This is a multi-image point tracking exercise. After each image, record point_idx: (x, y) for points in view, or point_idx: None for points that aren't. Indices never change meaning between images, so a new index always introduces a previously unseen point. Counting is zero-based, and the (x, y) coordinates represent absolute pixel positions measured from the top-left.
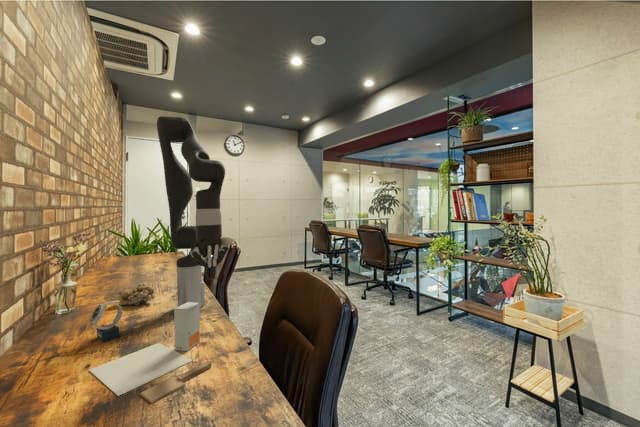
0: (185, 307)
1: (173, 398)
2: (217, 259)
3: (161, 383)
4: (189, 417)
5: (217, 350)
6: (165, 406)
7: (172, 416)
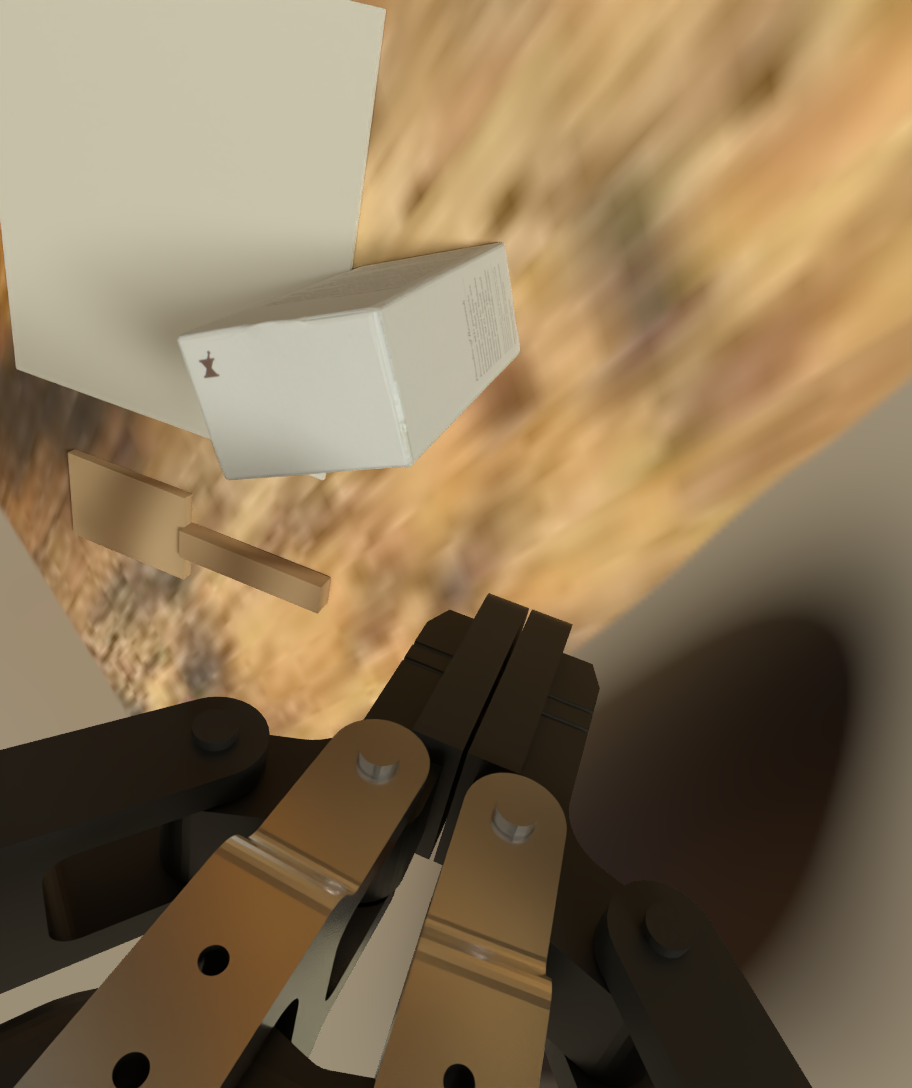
0: (244, 432)
1: (132, 582)
2: (603, 1061)
3: (135, 488)
4: (119, 680)
5: (466, 541)
6: (100, 583)
7: (93, 633)
